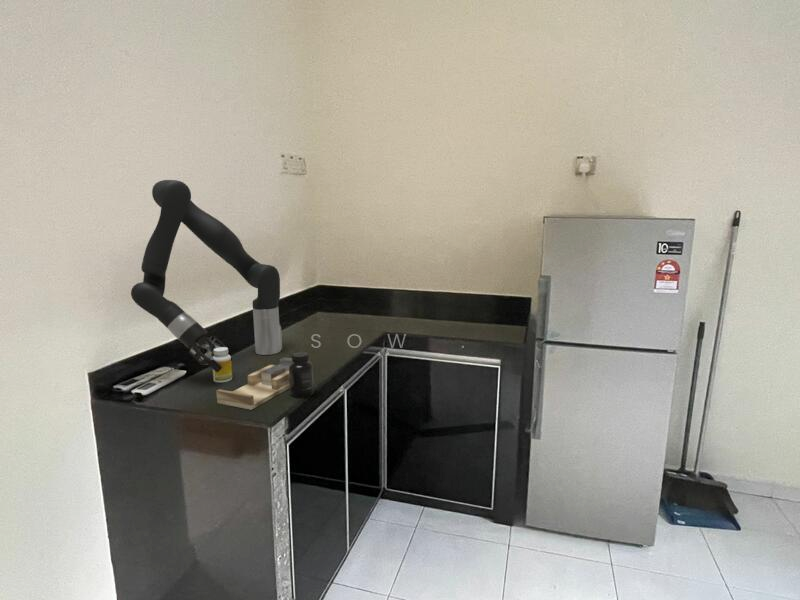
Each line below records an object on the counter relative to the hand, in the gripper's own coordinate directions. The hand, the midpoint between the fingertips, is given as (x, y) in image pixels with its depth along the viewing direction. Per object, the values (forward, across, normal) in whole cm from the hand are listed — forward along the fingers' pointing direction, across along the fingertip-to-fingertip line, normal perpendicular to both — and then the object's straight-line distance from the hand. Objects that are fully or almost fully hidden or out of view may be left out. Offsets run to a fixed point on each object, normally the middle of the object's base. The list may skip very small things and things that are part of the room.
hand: (225, 365), depth 151 cm
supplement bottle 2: (+22, -10, -16) cm, 29 cm away
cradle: (+14, -9, -7) cm, 18 cm away
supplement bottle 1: (+3, 0, +4) cm, 5 cm away
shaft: (+15, -1, -10) cm, 18 cm away
